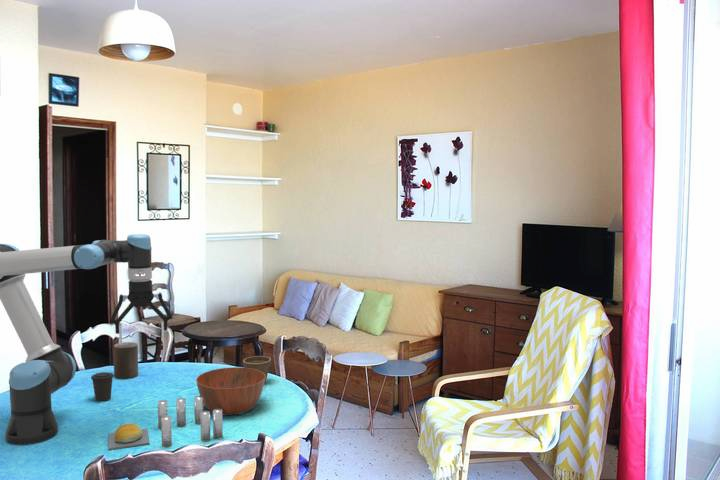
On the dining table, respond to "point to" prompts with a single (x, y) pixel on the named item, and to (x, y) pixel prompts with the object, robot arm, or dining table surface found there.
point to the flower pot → (258, 364)
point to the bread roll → (128, 433)
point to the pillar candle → (126, 360)
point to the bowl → (231, 389)
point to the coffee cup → (102, 386)
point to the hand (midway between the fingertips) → (142, 341)
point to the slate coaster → (140, 442)
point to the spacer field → (200, 418)
